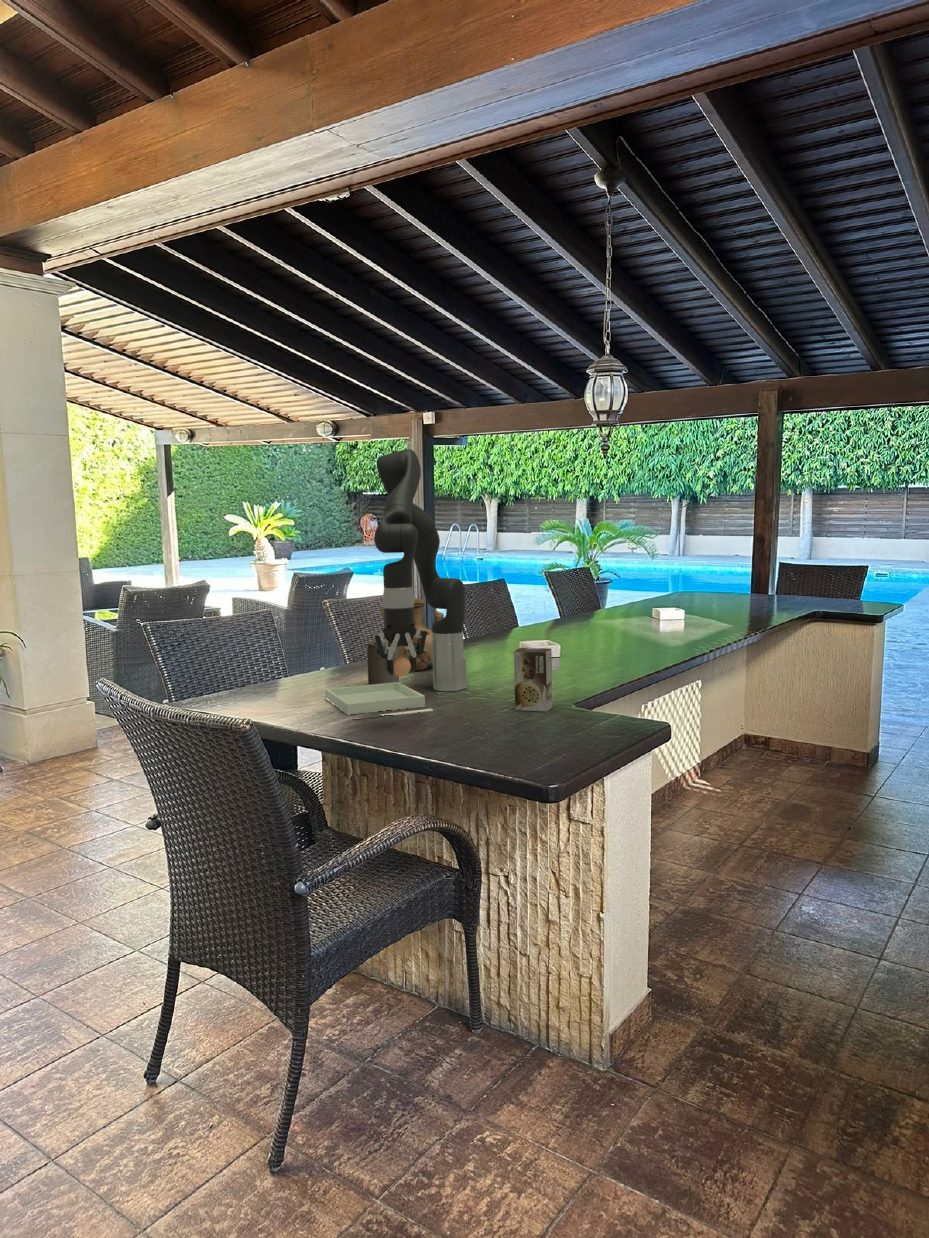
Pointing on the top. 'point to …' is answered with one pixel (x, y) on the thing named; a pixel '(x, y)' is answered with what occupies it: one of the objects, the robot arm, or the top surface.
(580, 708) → the top surface
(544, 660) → the coffee box
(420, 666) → the ceramic vessel
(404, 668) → the ball
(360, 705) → the tray
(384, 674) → the pillar candle
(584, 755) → the top surface
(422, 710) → the strip
